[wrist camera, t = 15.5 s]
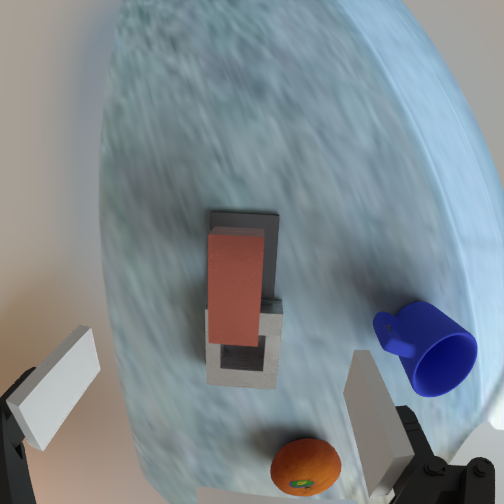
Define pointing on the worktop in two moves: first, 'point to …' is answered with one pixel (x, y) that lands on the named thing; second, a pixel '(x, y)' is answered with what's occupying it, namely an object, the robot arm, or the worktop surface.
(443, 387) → the mug
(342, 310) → the worktop surface
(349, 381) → the robot arm
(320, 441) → the fruit
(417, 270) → the worktop surface
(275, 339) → the block
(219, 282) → the key
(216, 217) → the mat
